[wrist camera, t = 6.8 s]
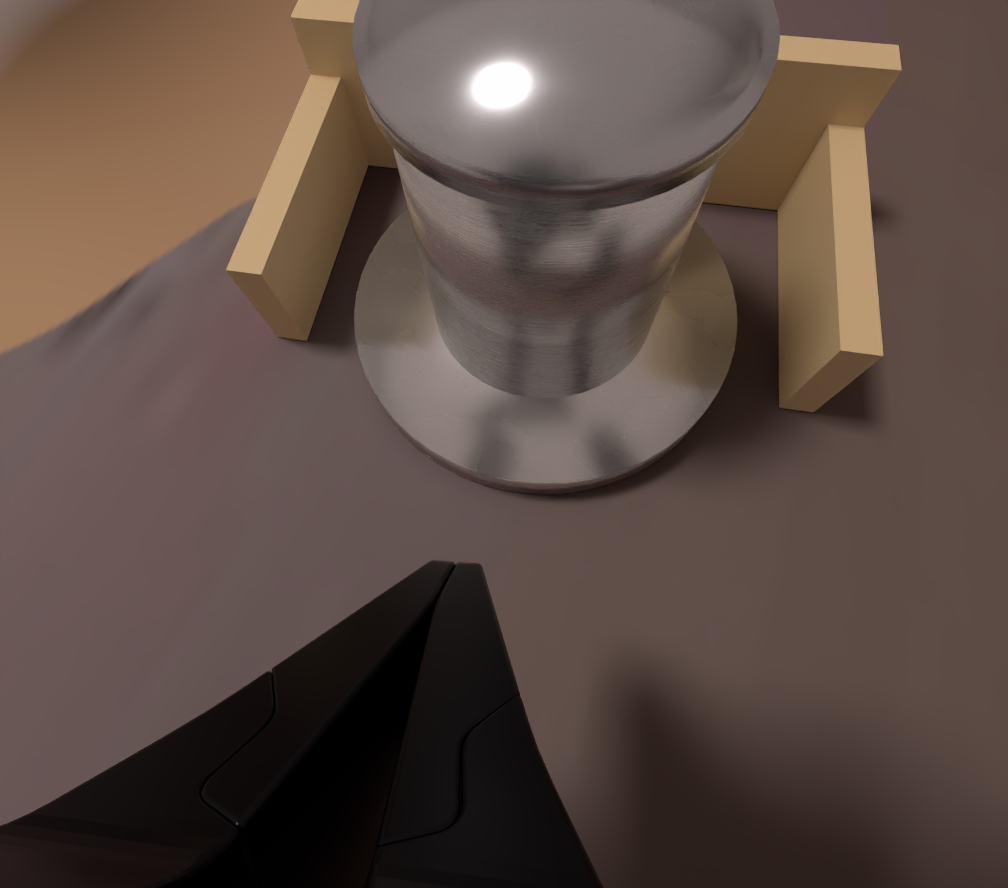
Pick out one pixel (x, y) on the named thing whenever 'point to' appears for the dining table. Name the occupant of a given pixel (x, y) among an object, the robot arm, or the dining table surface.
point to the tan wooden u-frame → (737, 181)
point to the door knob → (553, 227)
